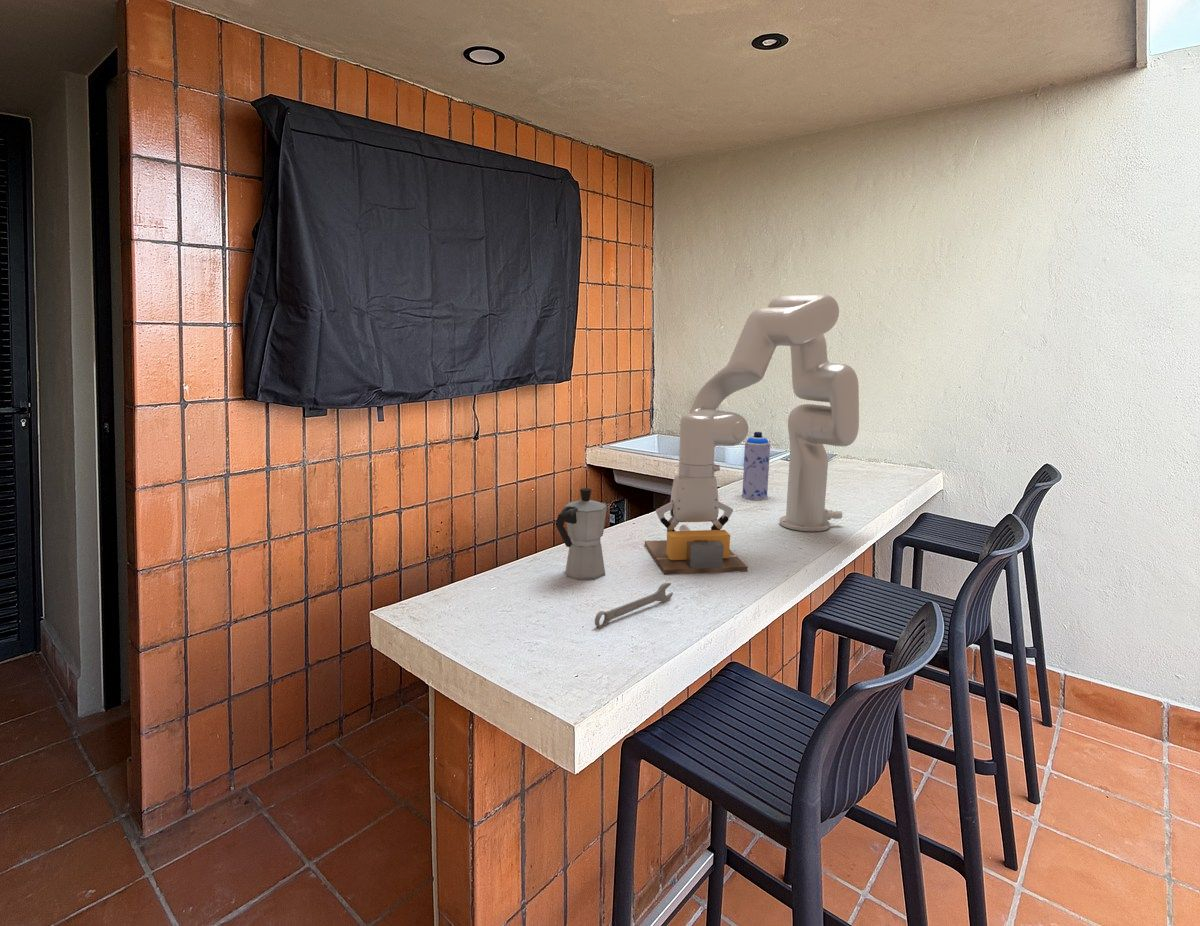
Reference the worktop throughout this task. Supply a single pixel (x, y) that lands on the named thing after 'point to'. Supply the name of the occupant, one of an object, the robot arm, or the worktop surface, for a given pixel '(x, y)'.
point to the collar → (680, 539)
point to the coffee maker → (583, 536)
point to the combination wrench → (634, 605)
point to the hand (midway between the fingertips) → (693, 545)
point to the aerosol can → (756, 468)
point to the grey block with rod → (703, 553)
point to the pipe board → (680, 566)
